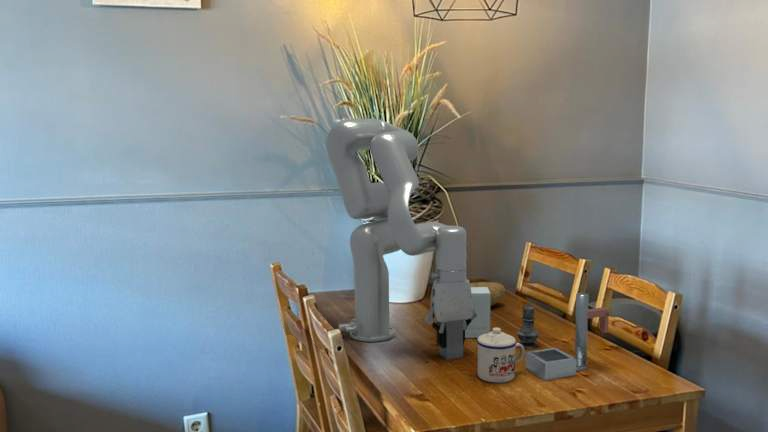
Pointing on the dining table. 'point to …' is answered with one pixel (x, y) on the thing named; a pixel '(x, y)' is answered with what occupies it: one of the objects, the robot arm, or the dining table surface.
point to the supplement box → (479, 313)
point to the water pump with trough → (564, 365)
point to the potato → (492, 290)
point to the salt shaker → (528, 328)
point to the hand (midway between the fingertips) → (450, 344)
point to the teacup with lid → (497, 356)
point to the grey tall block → (453, 340)
